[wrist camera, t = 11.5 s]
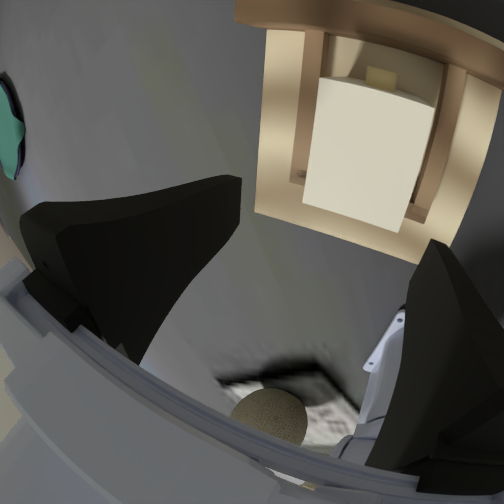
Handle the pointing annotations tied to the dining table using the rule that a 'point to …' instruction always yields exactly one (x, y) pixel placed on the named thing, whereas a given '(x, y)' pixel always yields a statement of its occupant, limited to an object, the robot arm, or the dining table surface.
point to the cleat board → (408, 79)
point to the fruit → (273, 414)
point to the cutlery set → (9, 134)
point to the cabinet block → (366, 148)
